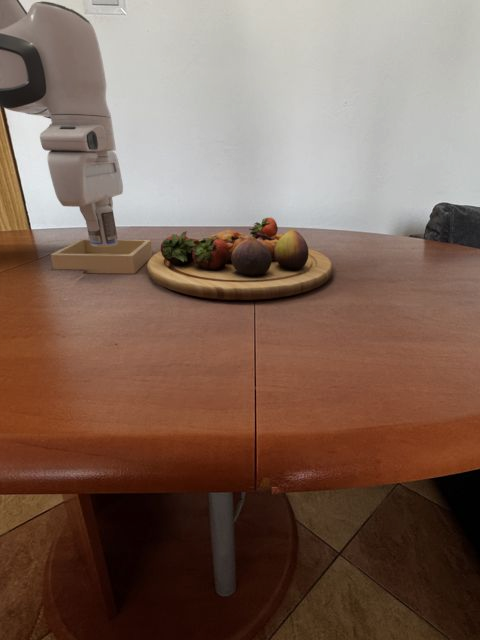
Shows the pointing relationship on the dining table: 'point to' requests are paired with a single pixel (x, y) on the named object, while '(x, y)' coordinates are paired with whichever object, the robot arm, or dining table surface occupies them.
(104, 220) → the pill bottle
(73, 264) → the tray
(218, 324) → the dining table surface
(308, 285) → the wooden plate
